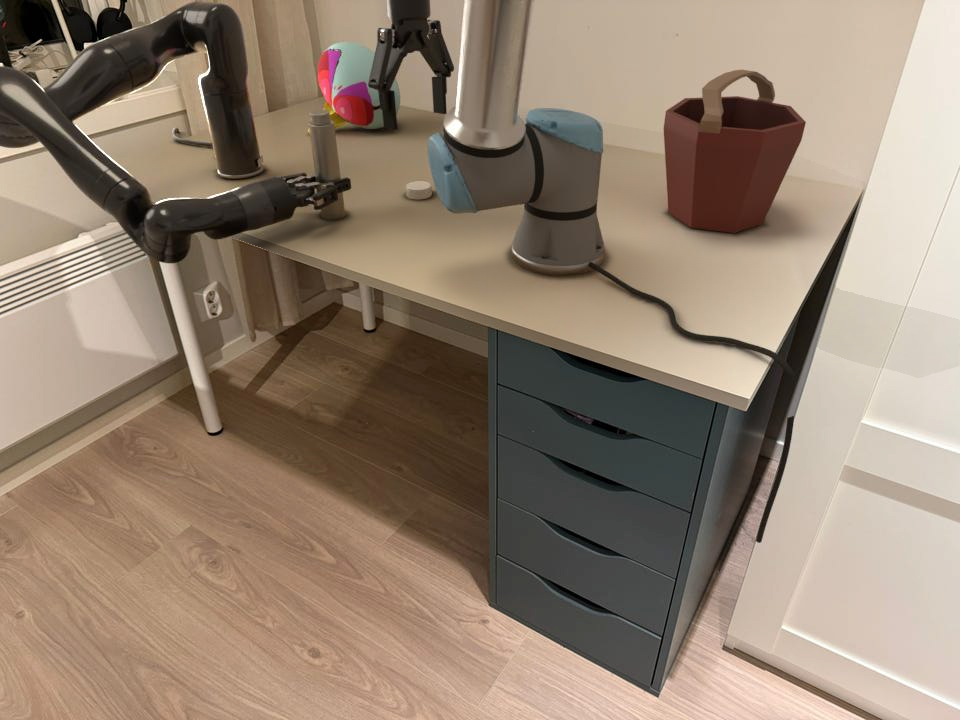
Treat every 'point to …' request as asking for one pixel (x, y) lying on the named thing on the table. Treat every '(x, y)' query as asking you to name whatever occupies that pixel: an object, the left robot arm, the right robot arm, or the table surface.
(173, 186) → the table surface
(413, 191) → the lid
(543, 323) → the table surface
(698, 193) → the bucket
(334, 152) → the tan tube
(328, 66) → the toy
